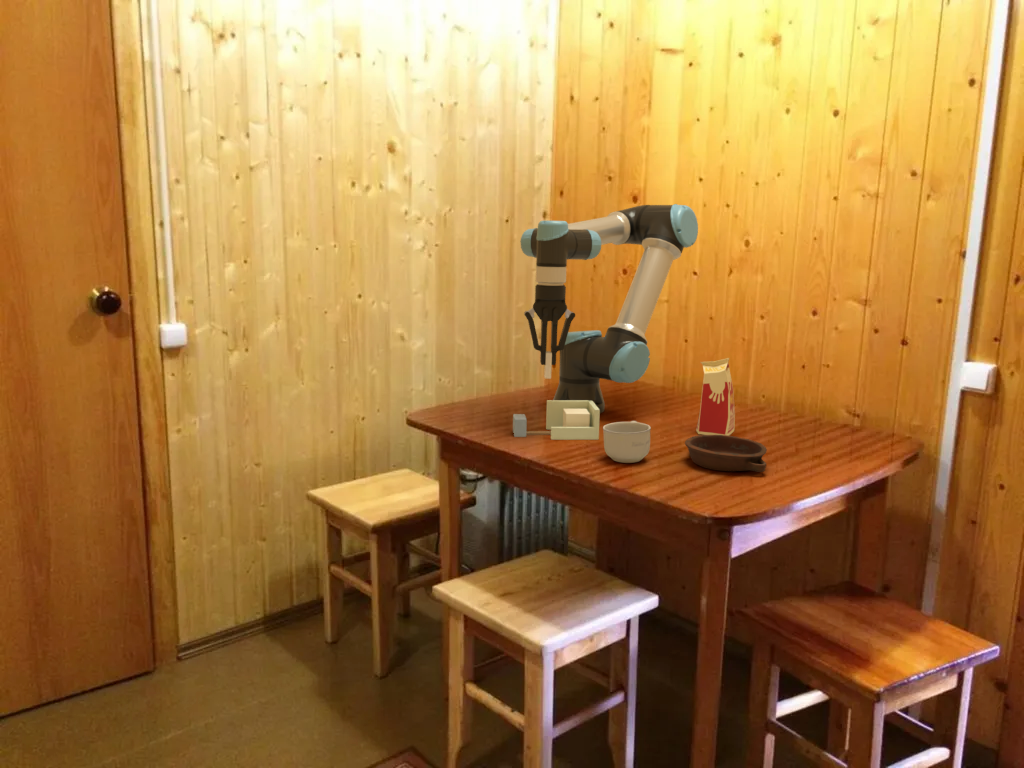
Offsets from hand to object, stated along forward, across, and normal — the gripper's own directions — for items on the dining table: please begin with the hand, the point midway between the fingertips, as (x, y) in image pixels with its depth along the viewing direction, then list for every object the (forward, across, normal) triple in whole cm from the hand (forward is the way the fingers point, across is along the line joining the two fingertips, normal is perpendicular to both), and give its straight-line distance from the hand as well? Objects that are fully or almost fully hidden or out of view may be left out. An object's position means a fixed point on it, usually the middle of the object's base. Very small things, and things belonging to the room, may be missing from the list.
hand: (547, 377), depth 205 cm
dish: (+15, -38, +27) cm, 49 cm away
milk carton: (+15, -45, -2) cm, 47 cm away
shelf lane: (+15, -7, 0) cm, 16 cm away
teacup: (+15, -17, +22) cm, 31 cm away
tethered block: (+15, -1, 0) cm, 15 cm away
